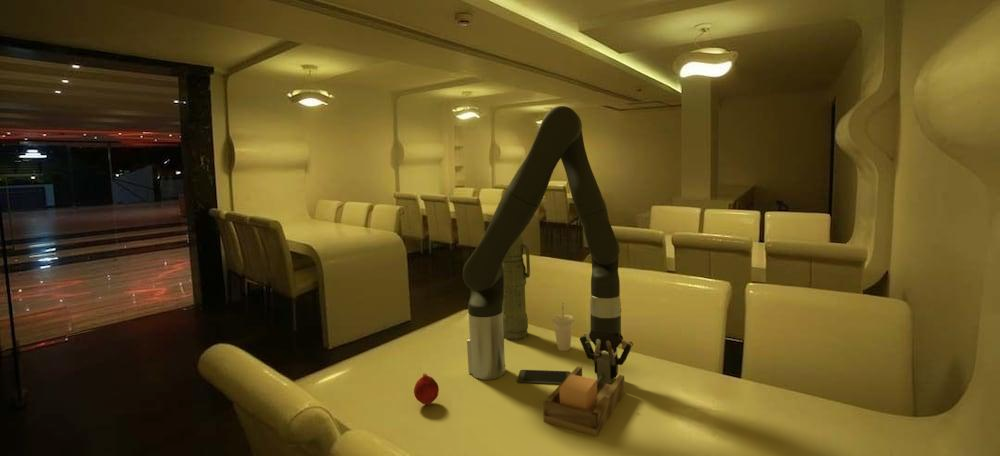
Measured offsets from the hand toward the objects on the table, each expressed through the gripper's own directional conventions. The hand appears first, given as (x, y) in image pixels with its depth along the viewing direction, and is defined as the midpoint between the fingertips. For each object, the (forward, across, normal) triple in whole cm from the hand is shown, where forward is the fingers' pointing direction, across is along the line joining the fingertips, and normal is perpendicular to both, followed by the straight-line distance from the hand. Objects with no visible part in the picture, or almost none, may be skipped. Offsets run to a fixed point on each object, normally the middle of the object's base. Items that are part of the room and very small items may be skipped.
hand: (606, 376), depth 118 cm
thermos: (+1, -37, +18) cm, 41 cm away
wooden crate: (+1, 0, -14) cm, 15 cm away
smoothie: (+1, -18, +14) cm, 23 cm away
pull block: (+1, 0, -10) cm, 10 cm away
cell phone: (+2, -15, -6) cm, 16 cm away
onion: (+1, -34, -30) cm, 46 cm away
